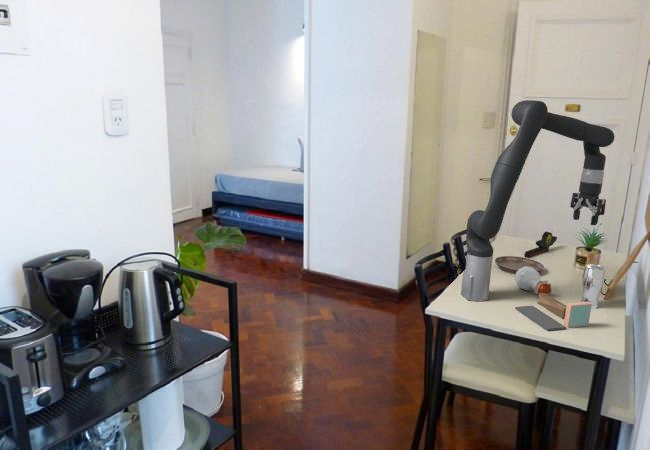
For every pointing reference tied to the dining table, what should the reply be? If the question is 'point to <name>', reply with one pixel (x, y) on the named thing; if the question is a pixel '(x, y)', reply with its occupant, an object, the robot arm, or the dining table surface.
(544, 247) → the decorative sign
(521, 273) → the potion bottle
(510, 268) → the plant saucer
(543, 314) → the mat
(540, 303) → the bar
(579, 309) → the glazed tile
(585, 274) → the silver upright cylinder
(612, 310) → the dining table surface
